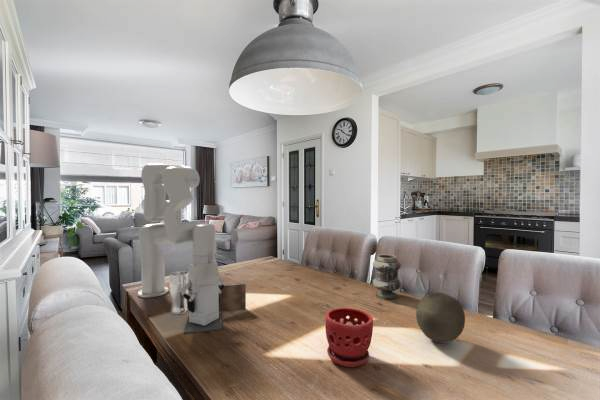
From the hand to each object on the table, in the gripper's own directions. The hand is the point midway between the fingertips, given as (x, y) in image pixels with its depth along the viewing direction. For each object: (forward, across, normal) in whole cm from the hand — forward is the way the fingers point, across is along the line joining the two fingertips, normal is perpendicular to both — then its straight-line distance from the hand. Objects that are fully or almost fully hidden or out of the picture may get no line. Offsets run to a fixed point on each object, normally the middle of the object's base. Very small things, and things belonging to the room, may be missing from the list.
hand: (204, 307), depth 103 cm
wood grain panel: (+6, -10, -5) cm, 13 cm away
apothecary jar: (+6, -71, +32) cm, 78 cm away
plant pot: (+6, -19, +48) cm, 52 cm away
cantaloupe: (+6, -46, +63) cm, 78 cm away
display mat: (+6, 0, 0) cm, 6 cm away
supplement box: (+5, 0, 0) cm, 5 cm away
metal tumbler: (+6, +2, -16) cm, 17 cm away
